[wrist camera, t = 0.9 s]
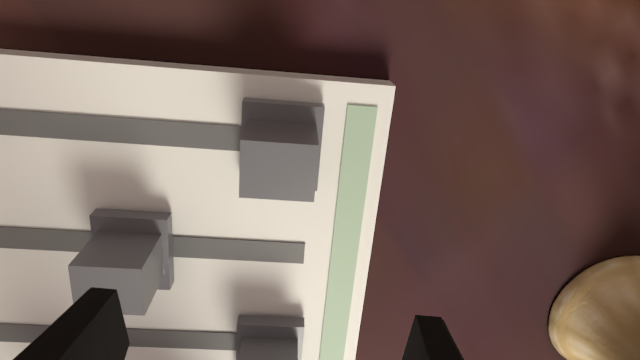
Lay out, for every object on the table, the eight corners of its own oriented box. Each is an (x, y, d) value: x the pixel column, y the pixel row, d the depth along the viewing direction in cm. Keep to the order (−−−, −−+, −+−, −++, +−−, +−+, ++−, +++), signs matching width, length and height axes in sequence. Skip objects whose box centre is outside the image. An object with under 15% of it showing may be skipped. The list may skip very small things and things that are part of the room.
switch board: (348, 366, 29) (351, 386, 27) (-86, 350, 27) (-109, 370, 25) (389, 80, 22) (396, 86, 21) (-186, 33, 20) (-224, 36, 19)
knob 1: (316, 184, 22) (319, 220, 19) (242, 179, 22) (230, 215, 18) (323, 103, 21) (328, 125, 17) (243, 97, 20) (232, 118, 17)
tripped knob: (174, 281, 24) (152, 330, 20) (103, 277, 24) (69, 327, 20) (171, 212, 22) (147, 253, 19) (96, 208, 22) (57, 248, 19)
